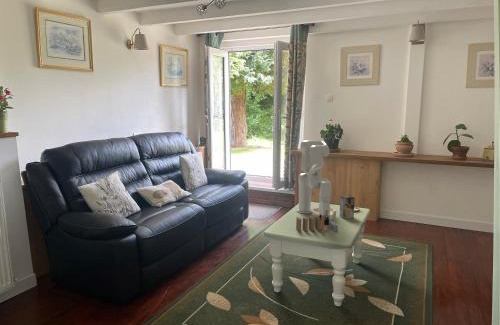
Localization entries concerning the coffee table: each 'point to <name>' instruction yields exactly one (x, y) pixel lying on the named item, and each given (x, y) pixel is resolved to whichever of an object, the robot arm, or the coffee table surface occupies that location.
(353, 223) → the coffee table surface
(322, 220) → the domino
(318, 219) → the domino
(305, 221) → the domino
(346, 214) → the coffee box
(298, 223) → the domino
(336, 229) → the stop block
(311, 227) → the domino
